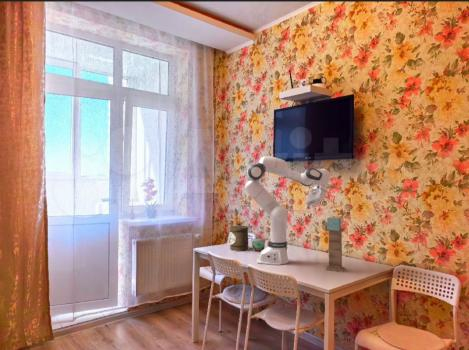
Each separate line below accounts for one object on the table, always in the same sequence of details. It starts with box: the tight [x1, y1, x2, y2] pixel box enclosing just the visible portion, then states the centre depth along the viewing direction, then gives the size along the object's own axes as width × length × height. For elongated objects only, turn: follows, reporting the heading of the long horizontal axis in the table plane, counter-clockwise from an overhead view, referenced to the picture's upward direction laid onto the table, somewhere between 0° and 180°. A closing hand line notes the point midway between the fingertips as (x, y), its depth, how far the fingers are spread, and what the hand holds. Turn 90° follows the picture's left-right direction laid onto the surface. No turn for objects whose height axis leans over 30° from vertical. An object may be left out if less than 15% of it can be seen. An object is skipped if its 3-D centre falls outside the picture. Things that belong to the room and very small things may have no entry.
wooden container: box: [229, 221, 249, 252], centre depth 269 cm, size 15×15×22 cm
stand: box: [325, 227, 346, 273], centre depth 209 cm, size 7×10×26 cm
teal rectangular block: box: [326, 216, 343, 231], centre depth 211 cm, size 20×7×7 cm, turn 152°
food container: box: [250, 238, 267, 253], centre depth 261 cm, size 12×6×10 cm, turn 105°
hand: (311, 207), depth 223 cm, fingers open, 8 cm apart
